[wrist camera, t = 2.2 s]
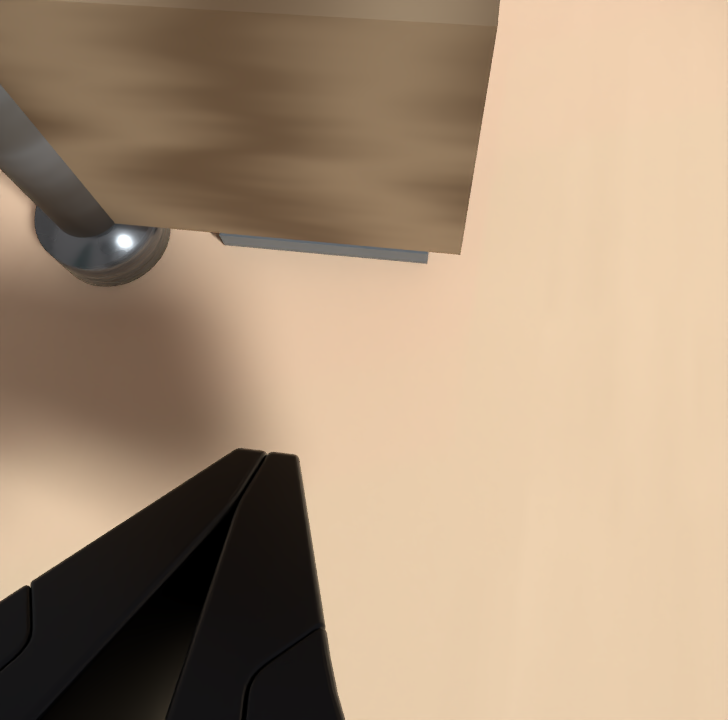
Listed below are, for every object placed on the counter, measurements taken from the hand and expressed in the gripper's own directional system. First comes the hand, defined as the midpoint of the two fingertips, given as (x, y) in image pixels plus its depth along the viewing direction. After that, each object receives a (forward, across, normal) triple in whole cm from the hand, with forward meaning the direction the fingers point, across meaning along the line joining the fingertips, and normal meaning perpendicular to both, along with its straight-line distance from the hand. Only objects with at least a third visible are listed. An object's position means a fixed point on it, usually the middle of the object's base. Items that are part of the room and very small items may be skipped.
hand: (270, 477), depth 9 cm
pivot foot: (+15, +10, +2) cm, 18 cm away
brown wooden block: (+15, +4, -1) cm, 15 cm away
